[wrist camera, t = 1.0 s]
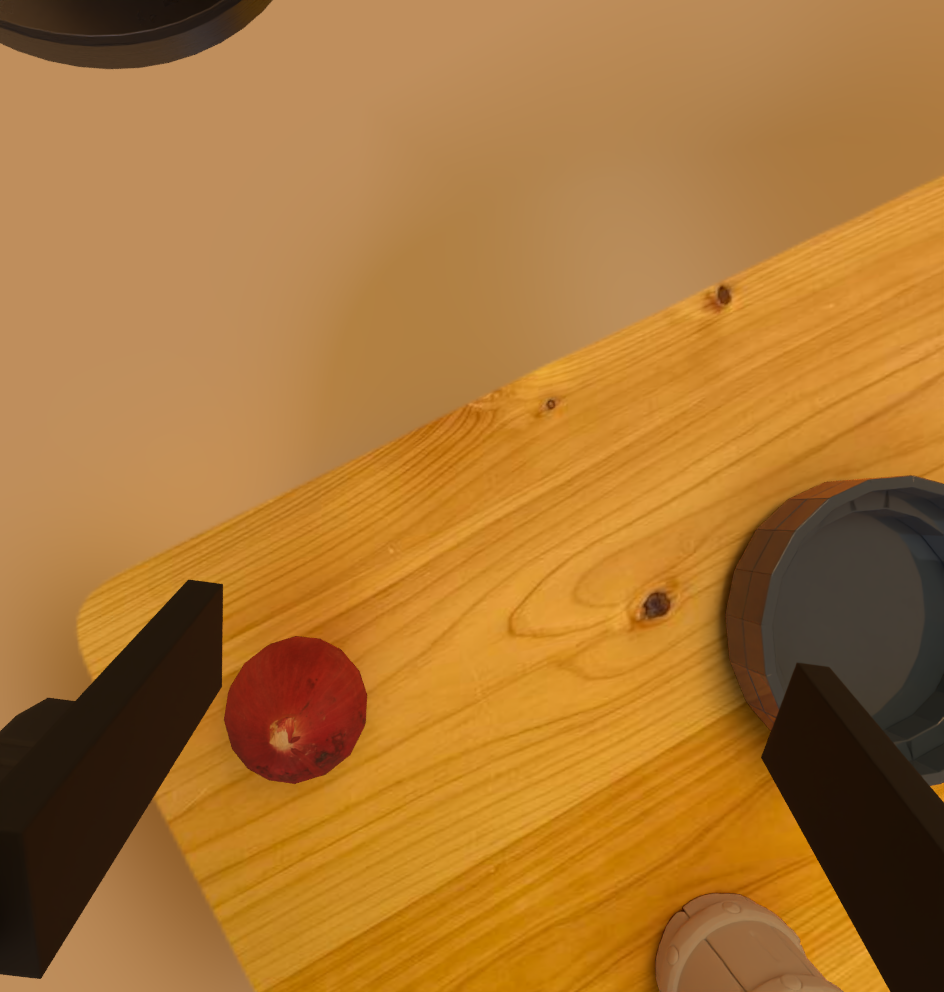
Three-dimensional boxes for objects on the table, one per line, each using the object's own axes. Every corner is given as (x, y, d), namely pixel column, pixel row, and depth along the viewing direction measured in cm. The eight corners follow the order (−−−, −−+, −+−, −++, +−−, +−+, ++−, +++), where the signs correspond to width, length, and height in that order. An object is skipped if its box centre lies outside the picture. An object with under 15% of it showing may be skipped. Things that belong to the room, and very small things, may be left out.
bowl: (706, 492, 34) (749, 489, 30) (955, 470, 37) (1024, 465, 33) (731, 777, 34) (778, 812, 30) (980, 737, 37) (1053, 765, 33)
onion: (392, 692, 32) (397, 751, 24) (296, 770, 31) (269, 859, 23) (318, 600, 31) (298, 629, 23) (219, 677, 31) (165, 734, 23)
